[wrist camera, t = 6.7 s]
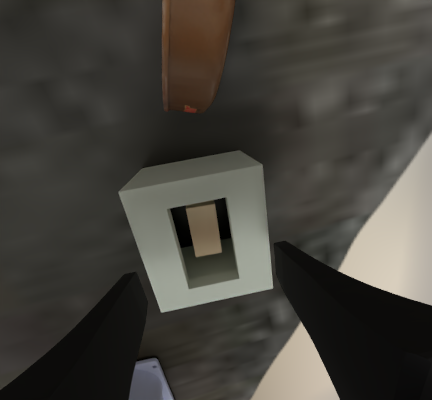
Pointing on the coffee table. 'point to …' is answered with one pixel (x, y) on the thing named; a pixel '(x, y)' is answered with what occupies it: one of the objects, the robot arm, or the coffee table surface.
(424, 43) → the coffee table surface
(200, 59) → the tin
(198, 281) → the box
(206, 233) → the block
